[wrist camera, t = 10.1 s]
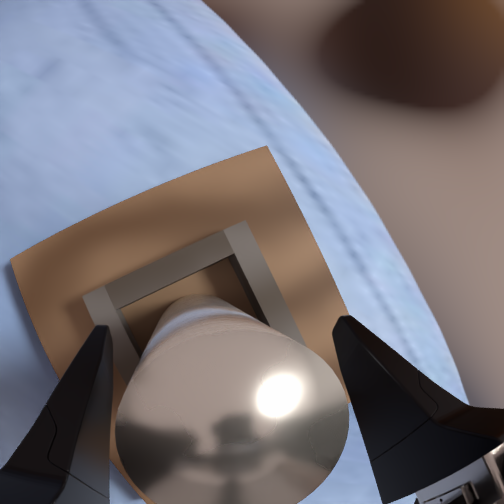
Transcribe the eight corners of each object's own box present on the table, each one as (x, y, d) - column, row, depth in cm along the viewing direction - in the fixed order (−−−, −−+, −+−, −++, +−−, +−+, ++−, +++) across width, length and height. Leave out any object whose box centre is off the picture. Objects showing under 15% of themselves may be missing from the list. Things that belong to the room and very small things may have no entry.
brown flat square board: (366, 378, 23) (392, 386, 20) (150, 496, 17) (150, 522, 14) (260, 153, 24) (275, 132, 20) (18, 261, 18) (-4, 255, 14)
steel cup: (261, 320, 20) (385, 383, 7) (219, 394, 19) (278, 536, 6) (182, 277, 19) (183, 280, 6) (140, 355, 18) (85, 476, 5)
